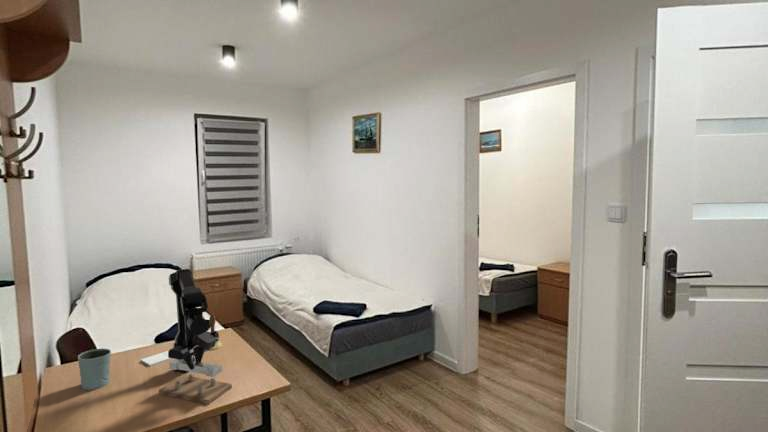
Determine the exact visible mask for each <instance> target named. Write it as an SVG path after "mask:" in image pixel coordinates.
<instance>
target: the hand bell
mask: <svg viewBox="0 0 768 432" xmlns="http://www.w3.org/2000/svg"><path fill="white" fill-rule="evenodd" d="M208 322H209V325H210V332H214V331H216V329H215V325H216V316H215V312H211V313H210V315H209V321H208ZM222 347H223V343H222V342H221V341H220V340H219V341H217V342H216V343H215V346H214V347H212V348H210V349H209V350H208V351H215V350H218V349H221V348H222Z"/></svg>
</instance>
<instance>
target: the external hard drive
mask: <svg viewBox="0 0 768 432" xmlns="http://www.w3.org/2000/svg"><path fill="white" fill-rule="evenodd" d="M168 351H169V350H167V351H164V352H160V353H157V354H153V355H151V356H148V357H144V358H141V359H139V360H140V361H139V362H140V363H142V364H144V365H146V366H147V367H149V368H151V367H153V366H156V365H159V364H162V363H165V362H169V361H172V360H174V358H168Z"/></svg>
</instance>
